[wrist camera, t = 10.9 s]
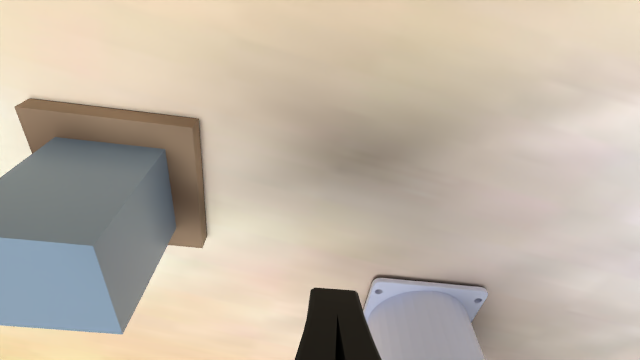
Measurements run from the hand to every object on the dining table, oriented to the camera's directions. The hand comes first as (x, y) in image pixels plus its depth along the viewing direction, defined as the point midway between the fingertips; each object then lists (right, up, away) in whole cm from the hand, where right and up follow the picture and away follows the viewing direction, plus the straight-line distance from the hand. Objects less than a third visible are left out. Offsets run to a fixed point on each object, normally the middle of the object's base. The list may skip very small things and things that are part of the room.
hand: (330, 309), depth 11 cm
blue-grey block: (-11, +4, +8) cm, 14 cm away
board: (-11, +4, +9) cm, 14 cm away
